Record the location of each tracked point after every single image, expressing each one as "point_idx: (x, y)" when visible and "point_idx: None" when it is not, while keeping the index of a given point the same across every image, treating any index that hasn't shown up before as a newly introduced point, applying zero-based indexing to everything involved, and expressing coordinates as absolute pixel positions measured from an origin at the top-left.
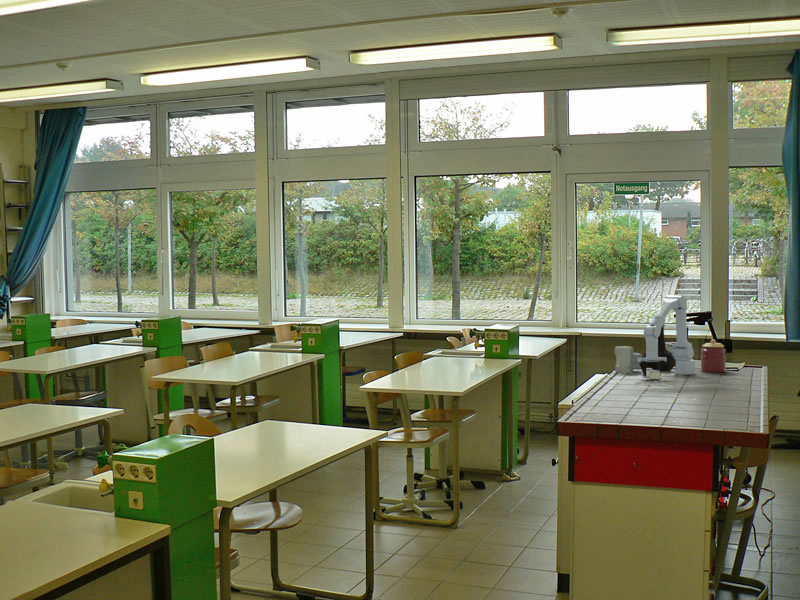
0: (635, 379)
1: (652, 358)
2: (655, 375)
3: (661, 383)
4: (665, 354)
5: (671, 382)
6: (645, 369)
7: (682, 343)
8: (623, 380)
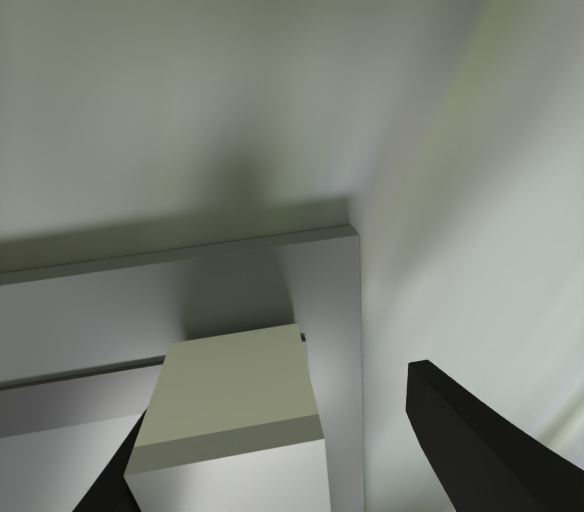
0: (402, 468)
1: None
2: (254, 374)
3: (193, 171)
4: None
5: (7, 268)
6: (533, 463)
7: None
8: (543, 413)
